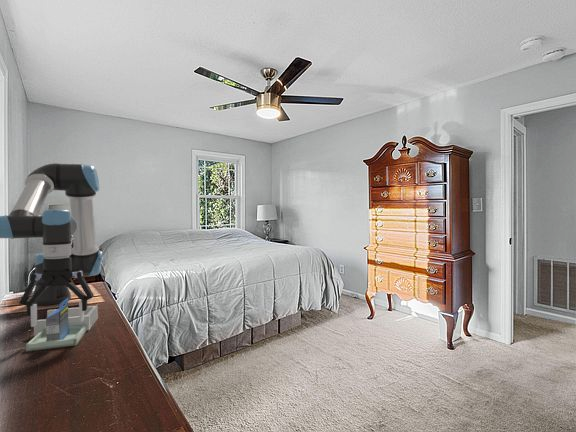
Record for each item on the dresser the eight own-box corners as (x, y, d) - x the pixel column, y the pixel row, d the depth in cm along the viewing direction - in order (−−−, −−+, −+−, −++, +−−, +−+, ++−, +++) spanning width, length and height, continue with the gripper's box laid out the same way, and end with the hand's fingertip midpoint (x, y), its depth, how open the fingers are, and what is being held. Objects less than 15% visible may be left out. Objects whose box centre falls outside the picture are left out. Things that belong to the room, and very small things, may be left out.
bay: (48, 323, 122) (48, 310, 122) (97, 318, 127) (97, 305, 127) (34, 336, 109) (33, 321, 109) (89, 330, 115) (89, 316, 115)
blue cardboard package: (55, 334, 109) (55, 297, 109) (69, 332, 111) (68, 296, 110) (45, 344, 101) (45, 305, 101) (60, 342, 102) (60, 303, 102)
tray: (42, 335, 110) (42, 329, 110) (86, 330, 114) (86, 325, 114) (25, 351, 98) (25, 344, 97) (76, 345, 102) (76, 338, 102)
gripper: (5, 260, 98) (6, 331, 98) (98, 256, 106) (98, 322, 106) (16, 257, 105) (17, 323, 105) (102, 253, 113) (103, 315, 113)
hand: (58, 323), depth 106 cm, fingers open, 12 cm apart
